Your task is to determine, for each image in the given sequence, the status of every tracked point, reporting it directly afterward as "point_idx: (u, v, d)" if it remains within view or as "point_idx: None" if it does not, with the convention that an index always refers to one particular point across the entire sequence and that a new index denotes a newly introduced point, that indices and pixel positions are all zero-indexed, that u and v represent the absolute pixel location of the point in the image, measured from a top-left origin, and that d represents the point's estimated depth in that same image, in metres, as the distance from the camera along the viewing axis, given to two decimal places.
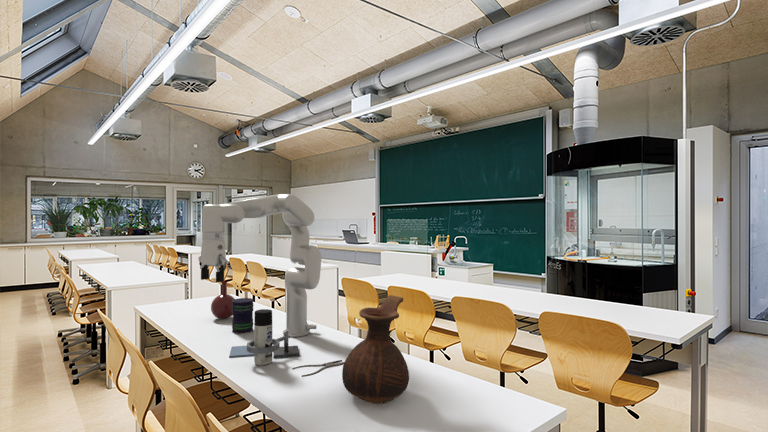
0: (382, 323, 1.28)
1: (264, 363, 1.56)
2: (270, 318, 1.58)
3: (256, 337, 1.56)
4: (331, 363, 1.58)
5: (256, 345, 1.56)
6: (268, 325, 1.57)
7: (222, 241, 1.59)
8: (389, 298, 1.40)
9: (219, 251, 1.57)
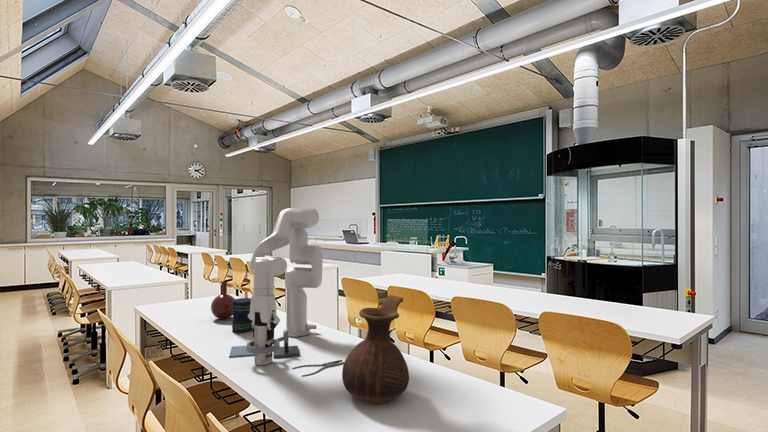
0: (382, 323, 1.28)
1: (264, 363, 1.56)
2: None
3: (256, 337, 1.56)
4: (331, 363, 1.58)
5: (256, 345, 1.56)
6: None
7: None
8: (389, 298, 1.40)
9: None
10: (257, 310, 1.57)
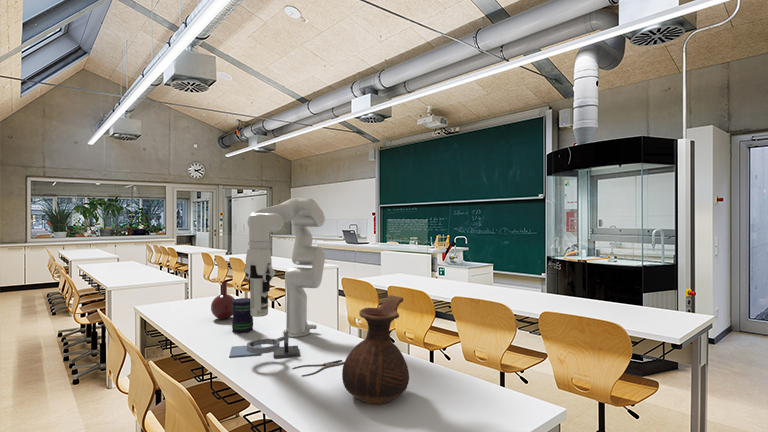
0: (382, 323, 1.28)
1: (260, 314, 1.60)
2: None
3: (252, 289, 1.60)
4: (331, 363, 1.58)
5: (252, 297, 1.60)
6: None
7: None
8: (389, 298, 1.40)
9: None
10: (253, 263, 1.60)
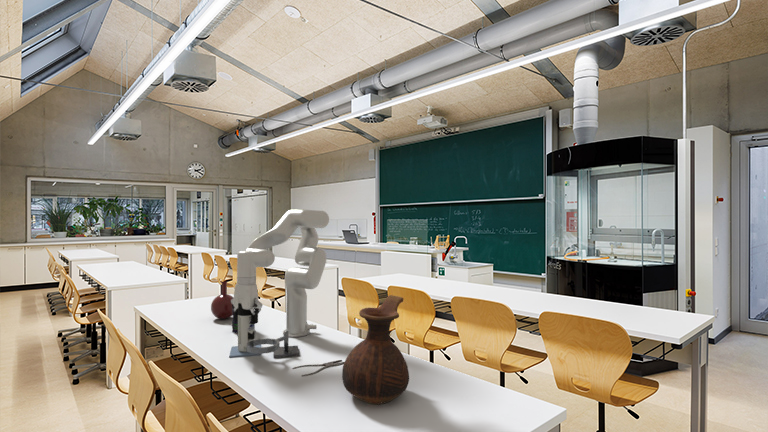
0: (382, 323, 1.28)
1: (246, 350, 1.69)
2: None
3: (239, 326, 1.69)
4: (331, 363, 1.58)
5: (239, 333, 1.69)
6: None
7: None
8: (389, 298, 1.40)
9: None
10: (240, 298, 1.69)
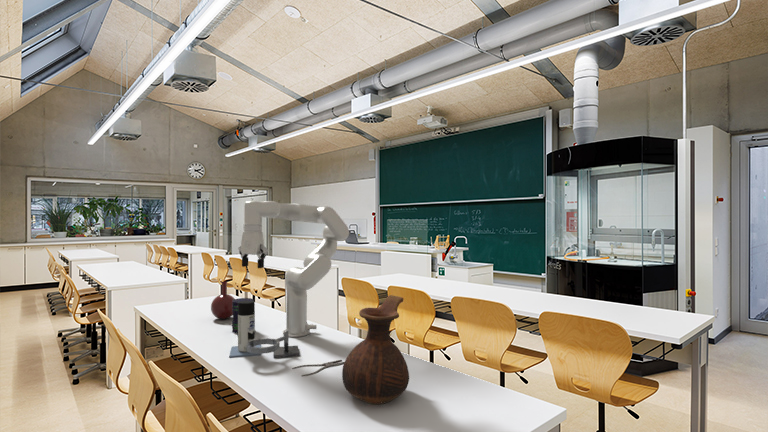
0: (382, 323, 1.28)
1: (246, 350, 1.69)
2: (252, 308, 1.71)
3: (239, 326, 1.69)
4: (331, 363, 1.58)
5: (239, 333, 1.69)
6: (251, 315, 1.70)
7: None
8: (389, 298, 1.40)
9: None
10: (247, 244, 1.82)
